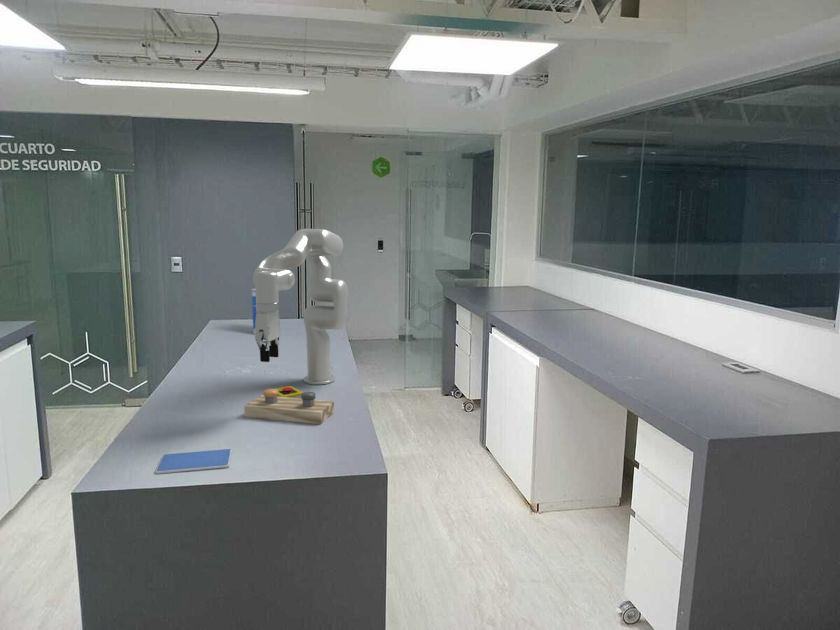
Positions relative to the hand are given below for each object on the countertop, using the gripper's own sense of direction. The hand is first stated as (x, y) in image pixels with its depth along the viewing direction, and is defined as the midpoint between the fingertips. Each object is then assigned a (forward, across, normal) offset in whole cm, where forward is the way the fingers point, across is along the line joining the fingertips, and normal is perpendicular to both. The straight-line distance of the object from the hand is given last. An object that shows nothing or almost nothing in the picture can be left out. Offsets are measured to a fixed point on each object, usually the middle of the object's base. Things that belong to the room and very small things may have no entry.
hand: (269, 358), depth 209 cm
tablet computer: (+20, +43, -2) cm, 48 cm away
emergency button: (+20, -17, -2) cm, 26 cm away
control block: (+20, 0, +7) cm, 21 cm away
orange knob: (+17, 0, 0) cm, 17 cm away
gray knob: (+17, 0, +14) cm, 22 cm away
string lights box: (+20, -123, -66) cm, 141 cm away
